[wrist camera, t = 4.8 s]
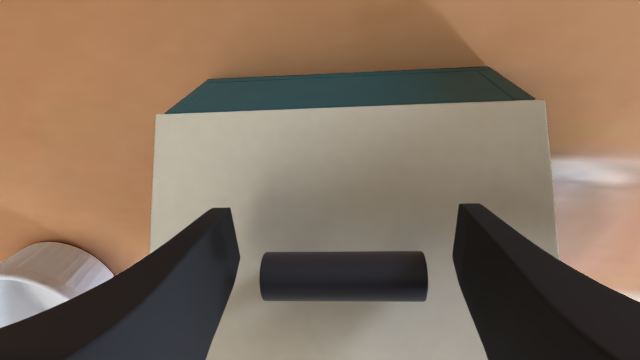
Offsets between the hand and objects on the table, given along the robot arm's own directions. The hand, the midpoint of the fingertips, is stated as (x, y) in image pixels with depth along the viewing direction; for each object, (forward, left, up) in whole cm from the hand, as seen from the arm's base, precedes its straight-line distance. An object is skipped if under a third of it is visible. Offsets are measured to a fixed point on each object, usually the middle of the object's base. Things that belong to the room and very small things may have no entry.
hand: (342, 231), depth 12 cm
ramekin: (-16, +18, -10) cm, 26 cm away
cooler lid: (-2, 0, -1) cm, 3 cm away
